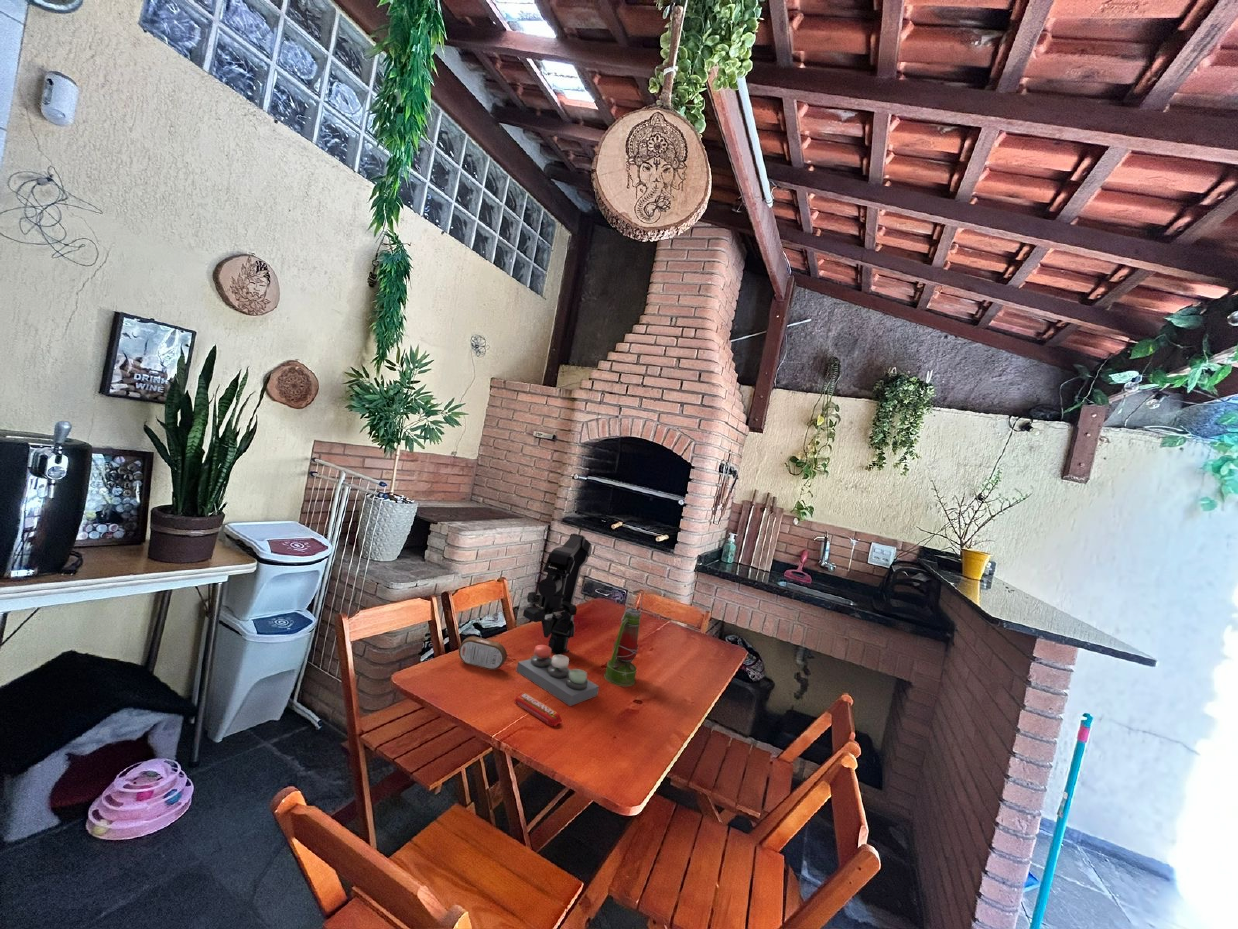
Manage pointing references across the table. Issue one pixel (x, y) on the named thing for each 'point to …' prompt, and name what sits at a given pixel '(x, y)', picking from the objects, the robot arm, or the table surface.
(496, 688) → the table surface
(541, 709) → the candy bar
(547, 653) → the red button
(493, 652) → the tin
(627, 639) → the lantern
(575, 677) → the green button
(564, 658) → the white button
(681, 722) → the table surface
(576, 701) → the button panel
